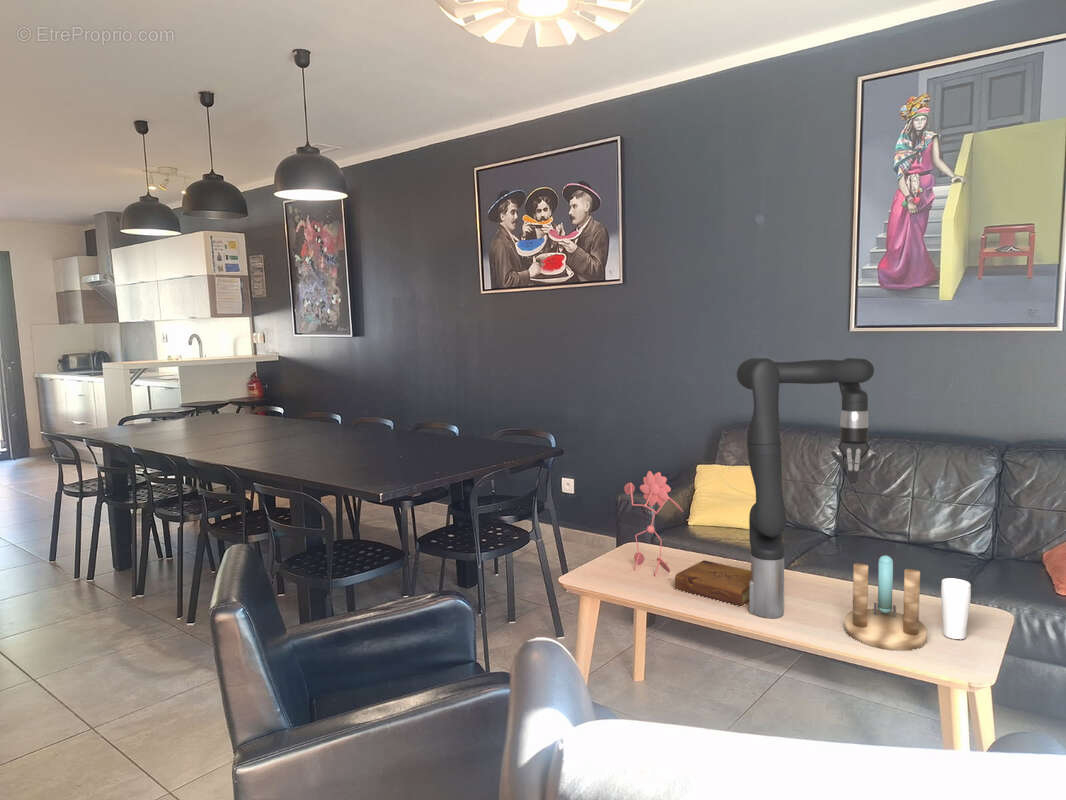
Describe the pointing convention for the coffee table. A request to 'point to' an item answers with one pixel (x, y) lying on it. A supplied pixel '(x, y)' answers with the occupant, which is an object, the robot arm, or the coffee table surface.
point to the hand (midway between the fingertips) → (853, 482)
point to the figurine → (653, 493)
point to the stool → (886, 615)
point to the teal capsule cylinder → (885, 584)
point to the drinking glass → (955, 607)
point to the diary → (716, 582)
